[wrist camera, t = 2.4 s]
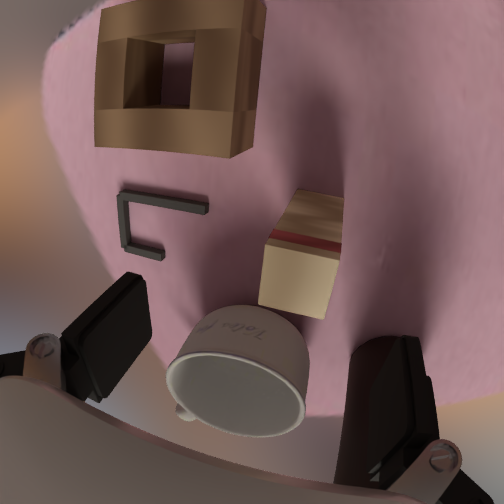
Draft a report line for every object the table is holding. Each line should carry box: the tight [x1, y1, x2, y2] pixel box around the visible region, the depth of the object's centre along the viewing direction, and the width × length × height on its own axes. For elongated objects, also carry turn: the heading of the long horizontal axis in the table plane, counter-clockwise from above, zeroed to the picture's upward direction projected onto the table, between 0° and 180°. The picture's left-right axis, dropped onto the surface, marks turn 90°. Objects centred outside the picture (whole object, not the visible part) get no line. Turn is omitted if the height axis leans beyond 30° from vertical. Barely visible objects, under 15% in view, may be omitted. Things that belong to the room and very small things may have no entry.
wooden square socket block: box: [94, 0, 267, 159], centre depth 17 cm, size 10×10×4 cm
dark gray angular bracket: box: [117, 190, 209, 261], centre depth 25 cm, size 8×6×1 cm
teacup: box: [166, 305, 310, 437], centre depth 25 cm, size 14×11×8 cm
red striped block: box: [258, 189, 344, 320], centre depth 18 cm, size 3×3×9 cm
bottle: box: [333, 336, 401, 490], centre depth 17 cm, size 7×7×20 cm
